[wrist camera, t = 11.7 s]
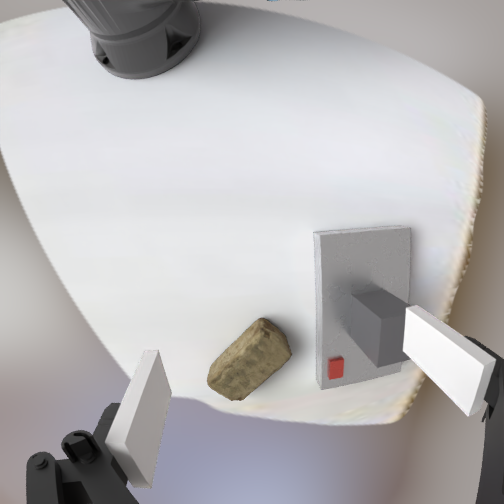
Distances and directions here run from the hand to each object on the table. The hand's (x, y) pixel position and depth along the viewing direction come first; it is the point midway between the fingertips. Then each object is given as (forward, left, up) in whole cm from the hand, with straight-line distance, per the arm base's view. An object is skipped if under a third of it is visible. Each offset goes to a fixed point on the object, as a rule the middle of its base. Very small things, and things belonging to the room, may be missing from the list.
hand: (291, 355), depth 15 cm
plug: (+8, +14, -25) cm, 30 cm away
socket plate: (+8, +15, -25) cm, 30 cm away
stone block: (+13, -2, -25) cm, 29 cm away
